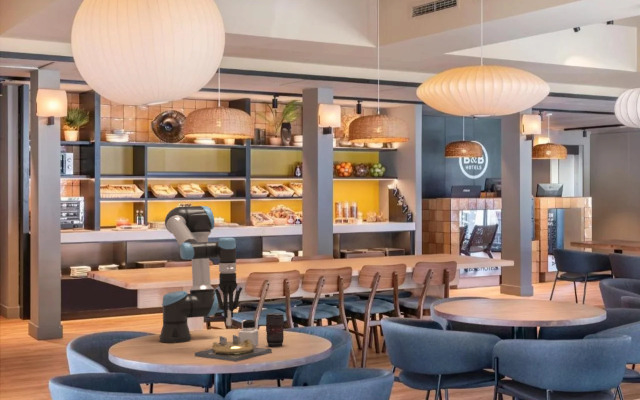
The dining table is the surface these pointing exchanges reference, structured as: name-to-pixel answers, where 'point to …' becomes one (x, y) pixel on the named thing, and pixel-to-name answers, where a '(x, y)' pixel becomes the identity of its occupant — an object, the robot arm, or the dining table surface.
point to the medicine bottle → (249, 332)
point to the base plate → (233, 357)
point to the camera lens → (274, 329)
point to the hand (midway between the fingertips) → (228, 325)
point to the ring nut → (232, 346)
